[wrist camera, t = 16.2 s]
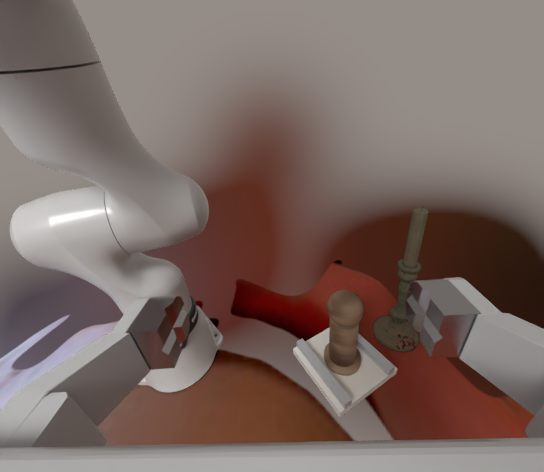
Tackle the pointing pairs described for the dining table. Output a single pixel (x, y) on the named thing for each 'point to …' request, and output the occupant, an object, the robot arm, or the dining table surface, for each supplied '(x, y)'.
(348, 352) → the tan wooden upright piece
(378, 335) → the candlestick holder
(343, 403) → the tray
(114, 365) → the robot arm
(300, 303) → the dining table surface
